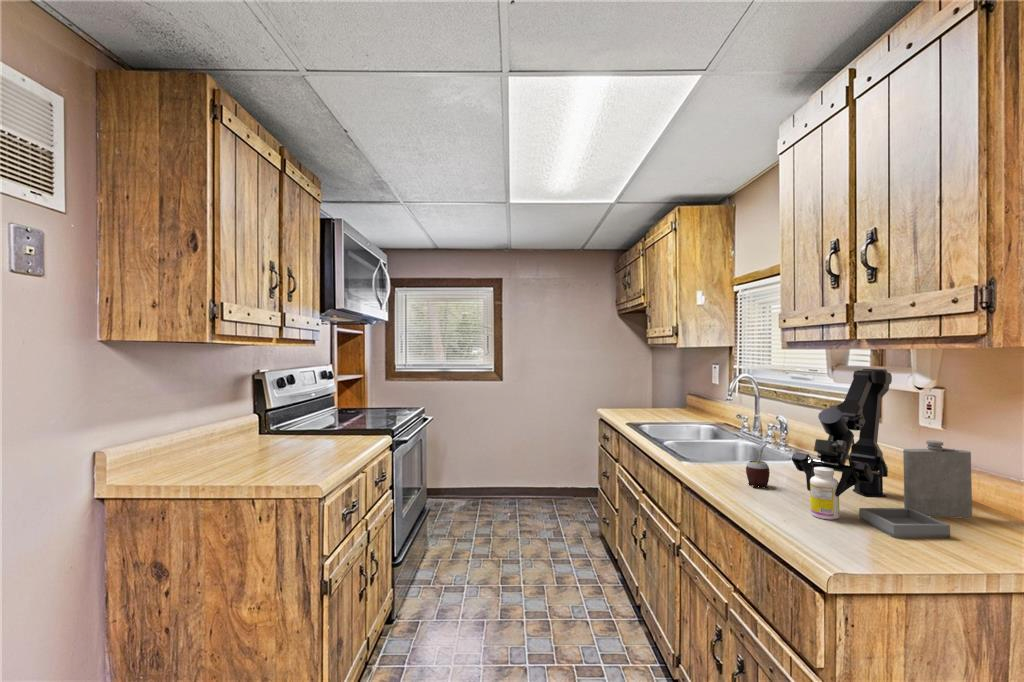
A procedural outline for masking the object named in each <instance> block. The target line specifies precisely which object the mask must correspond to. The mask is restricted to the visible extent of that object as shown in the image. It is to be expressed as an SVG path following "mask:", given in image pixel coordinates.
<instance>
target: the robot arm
mask: <svg viewBox="0 0 1024 682" xmlns="http://www.w3.org/2000/svg"><path fill="white" fill-rule="evenodd" d="M852 377H853V379H852V381H851V383H850V386H849V388H848V391H847V393H846V396H845V398H844V400H843V402H840V403H838V404H837V405H831V404H830V405H829V407H827V408H825V409H822V410H821V411H820V412H819V413H818V416H817V417H818V420H819V422H820V424H821V426H822V428H823V429H824V432H825V434H827V435H828V437H827V439H819V438H816V439H815V441H814V448H813V451H814V452H816V453H817V458H818V459H820V460H817V459H813V458H812V457H811V455H810V454H809V453H802V452H794V453H793V454H792V457H791V461H792V462H793V464H794V466H795V468H796V469H797V471H799V472H804V474H805V477H806V478H805V479H806V488H807V491H808V492H810V479H811V478H812V477H814V476H815V473H814V467H827V468H832V469H834V472H839V473H841V475H840V476H841V477H840V479H839V481H838V483H839V484H838V486H837V489H836V493H835V495H836V496H837V497H838V496H839V497H840V496H841V495H842V494H843V493H844V492H846V491H847V490H849V489H850V488H852V487H854V488H853V489H852V492H855V493H857V494H858V495H862V496H863V497H887V494H885V493H884V485H883V482H884V481H883V478H884V477H885V478H888V477H889V471H888V470H889V468H888V466H887V463H886V461H885V459H884V457H883V456H884V455H883V454H884V453H883V451H882V450H881V447H880V446H879V444H878V438H879V427H880V419H881V418H880V416H881V406H882V398H884V396H885V395H886V394H887V392H889V391H890V390H889V388H890V385H891V384H892V380H893V377H892V373H891V372H888V370H887V369H884V368H883V369H881V368H863V369H858V370H854V371H853V375H852ZM853 431H856V432H857V431H859V435H858V436H859V437H858V440H857V441H856V442H855V434H854V433H853ZM847 460H848V464H849V465H848V464H846V462H847Z"/></svg>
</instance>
